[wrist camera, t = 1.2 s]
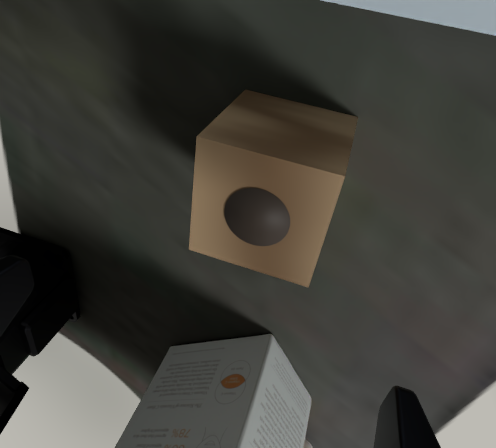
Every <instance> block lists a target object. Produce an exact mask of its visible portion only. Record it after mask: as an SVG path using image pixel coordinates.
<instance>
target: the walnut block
mask: <svg viewBox="0 0 496 448" xmlns="http://www.w3.org/2000/svg"><path fill="white" fill-rule="evenodd" d="M357 119H358V117H356V116H352V115H348V114H344V113H339V112H335V111H331V110H327V109H323V108H319V107H315V106H311V105H307V104H303V103H299V102H295V101H290V100H286V99H282V98H278V97H274V96H270V95H266V94H262V93H258V92H254V91H250V90H246V89H245V90H244V91H243V92H242V93H241V94H240V95H239V96H238V97H237V98H236V99H235V100H234V101H233V102H232V103H231V104H230V105H229V106H228V107H227V108H226V109H225V110H224V111H222V112H221V113H220V114H219V115H218V116H217V117H216V118H215V119H214V120H213V121H212V122H211V123H210V124H209V125H208V126H207V127H206V128H205V129H204V130H203V131H202V132H201V133H200V134H199V135H198V136H197V137H196V152H195V167H194V182H193V197H192V212H191V227H190V242H189V250H192V251H195V252H198V253H201V254H204V255H208V256H211V257H214V258H217V259H220V260H223V261H227V262H230V263H233V264H236V265H239V266H242V267H246V268H249V269H252V270H255V271H258V272H261V273H265V274H268V275H271V276H274V277H277V278H280V279H284V280H287V281H290V282H293V283H296V284H299V285H303V286H306V287H309V284H310V281H311V278H312V275H313V272H314V269H315V266H316V263H317V260H318V257H319V254H320V251H321V248H322V245H323V242H324V239H325V236H326V233H327V229H328V226H329V223H330V220H331V217H332V214H333V211H334V208H335V205H336V202H337V199H338V196H339V193H340V190H341V187H342V184H343V181H344V178H345V174H346V170H347V165H348V160H349V156H350V151H351V147H352V142H353V138H354V133H355V129H356V124H357Z"/></svg>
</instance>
